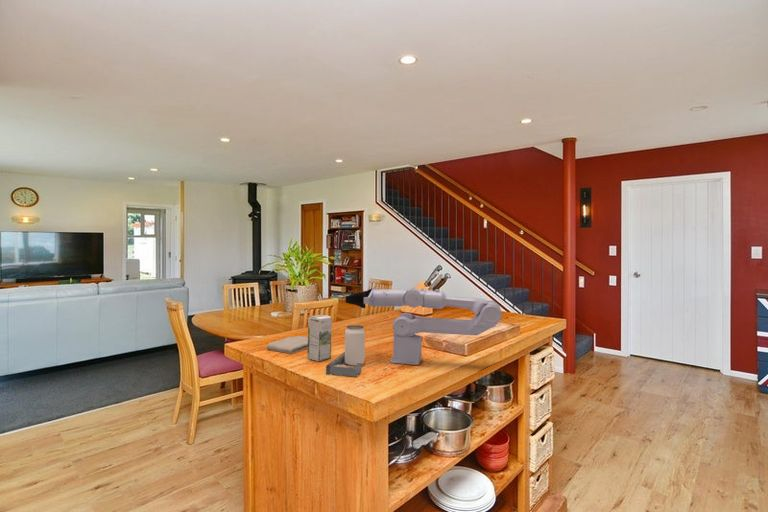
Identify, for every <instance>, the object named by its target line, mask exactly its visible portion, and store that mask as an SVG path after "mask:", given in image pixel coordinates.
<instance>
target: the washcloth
mask: <svg viewBox="0 0 768 512" xmlns="http://www.w3.org/2000/svg"><path fill="white" fill-rule="evenodd" d="M307 348H308V336H304V335H303V336H301V335H296V336H287V337H286V338H283V339H279V340H276V341H273V342H270V343H268V344H267V346H266V349H267V350H269V351H274V352H278V353H285V354H288V353H289V354H288V355H292V353H293V354H295V352H296V353H298V351H299V352H301V350H302V351H305V350H308V349H307ZM304 349H305V350H304Z"/></svg>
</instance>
